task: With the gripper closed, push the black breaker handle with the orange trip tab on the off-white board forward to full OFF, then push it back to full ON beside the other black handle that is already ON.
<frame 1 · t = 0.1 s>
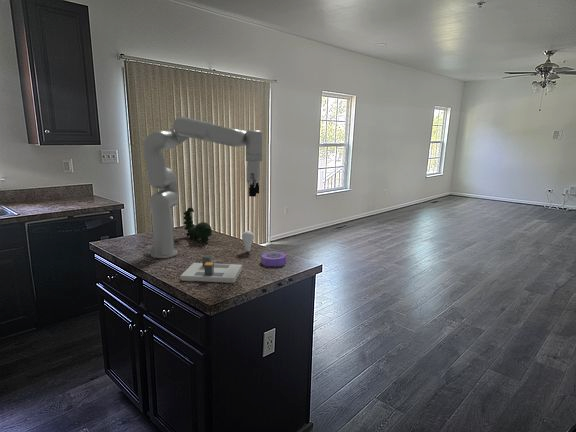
hand: (254, 194, 169), 31 cm above the countertop, tool pointing down, fingers open, 9 cm apart
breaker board: (212, 274, 154), on the countertop
toy figurine: (198, 240, 206), on the countertop
masking tape: (273, 263, 170), on the countertop
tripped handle: (209, 268, 148), point 4 cm above the countertop, slide at 0.0 cm
on handle: (206, 260, 158), point 4 cm above the countertop, slide at -4.0 cm
lightbulb: (248, 252, 186), on the countertop
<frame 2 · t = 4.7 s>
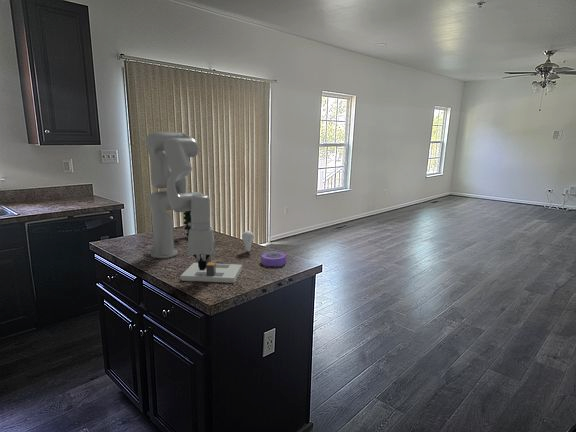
hand: (202, 269, 148), 4 cm above the countertop, tool pointing down, fingers closed
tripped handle: (211, 268, 148), point 4 cm above the countertop, slide at 0.8 cm, touching gripper
everything else where it was.
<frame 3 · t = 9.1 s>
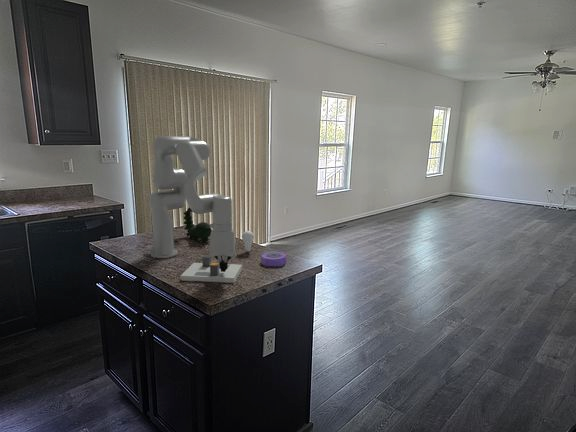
hand: (223, 270, 148), 4 cm above the countertop, tool pointing down, fingers closed
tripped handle: (214, 268, 148), point 4 cm above the countertop, slide at 2.3 cm, touching gripper
everything else where it was.
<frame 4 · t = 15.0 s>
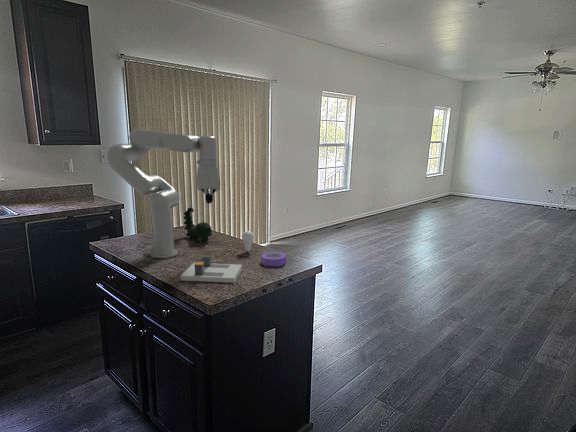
hand: (209, 202, 170), 27 cm above the countertop, tool pointing down, fingers closed
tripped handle: (199, 268, 148), point 4 cm above the countertop, slide at -4.1 cm
everything else where it was.
at the end: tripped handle slide at -4.1 cm; on handle slide at -4.0 cm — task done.
